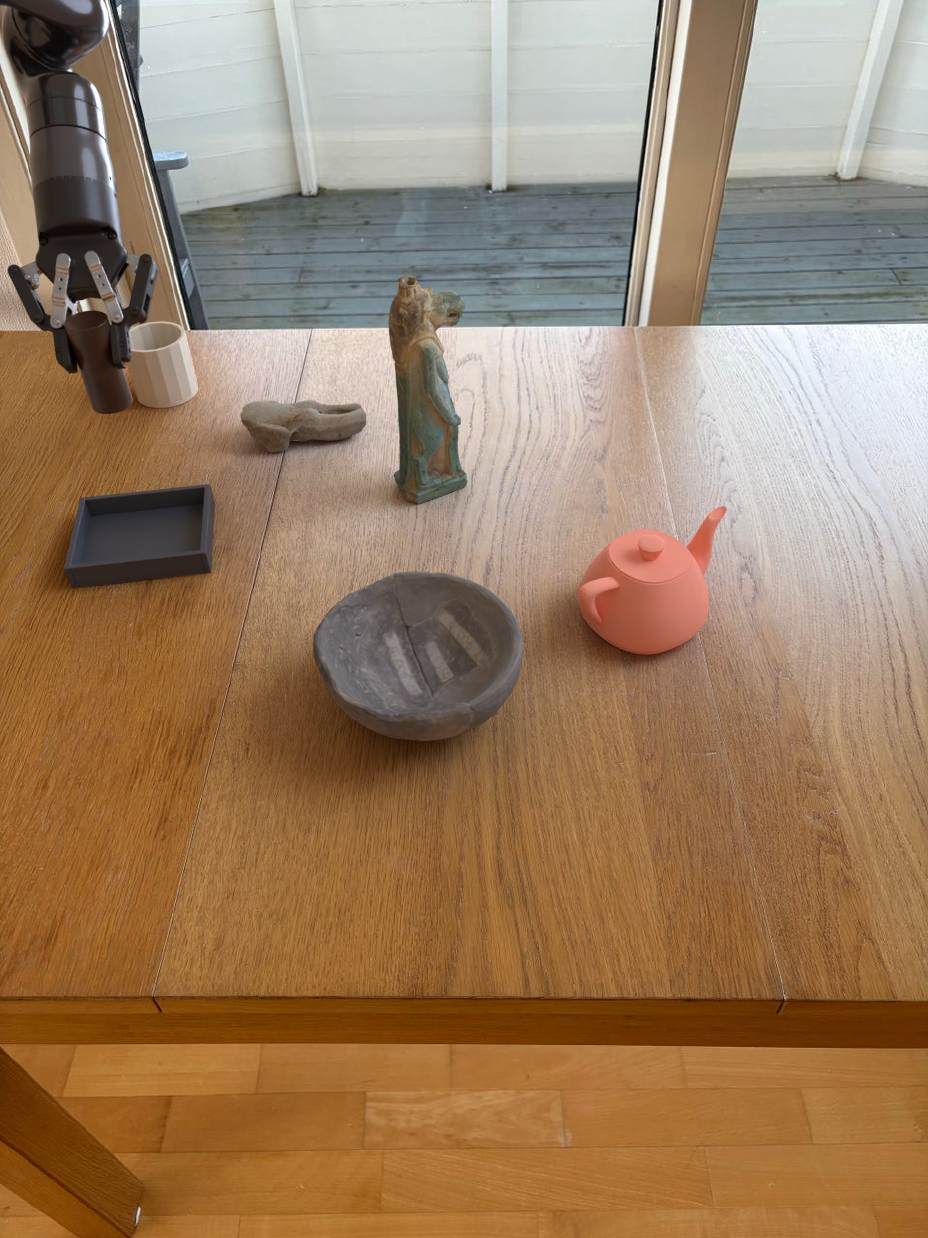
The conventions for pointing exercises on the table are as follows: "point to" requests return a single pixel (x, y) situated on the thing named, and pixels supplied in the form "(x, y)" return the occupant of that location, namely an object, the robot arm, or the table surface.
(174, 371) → the cup
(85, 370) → the walnut peg
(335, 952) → the table surface
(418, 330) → the statue
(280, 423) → the sculpture
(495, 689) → the bowl
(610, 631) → the teapot
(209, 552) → the tray
